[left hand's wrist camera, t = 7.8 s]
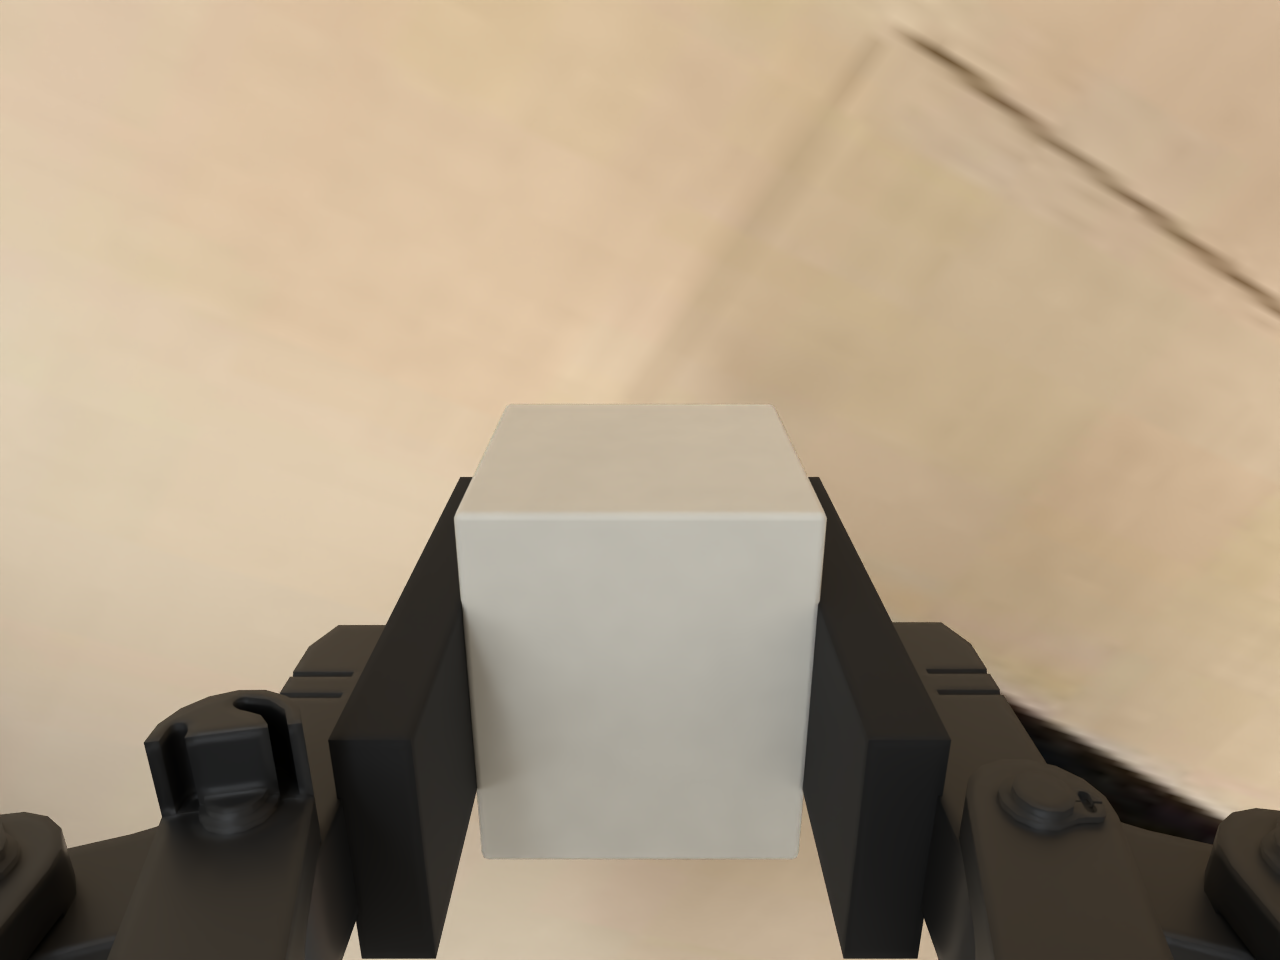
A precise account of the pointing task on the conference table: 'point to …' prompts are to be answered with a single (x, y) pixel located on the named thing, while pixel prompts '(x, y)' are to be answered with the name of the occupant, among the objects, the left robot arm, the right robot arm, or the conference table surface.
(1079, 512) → the conference table surface
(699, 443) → the block
